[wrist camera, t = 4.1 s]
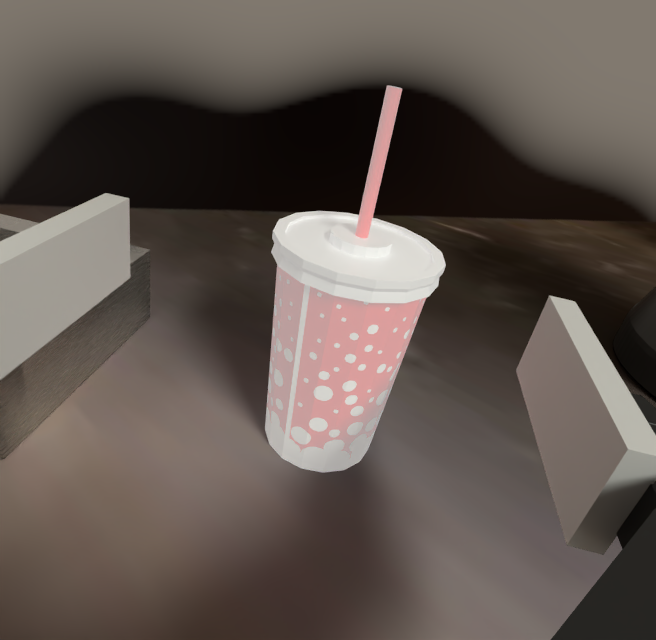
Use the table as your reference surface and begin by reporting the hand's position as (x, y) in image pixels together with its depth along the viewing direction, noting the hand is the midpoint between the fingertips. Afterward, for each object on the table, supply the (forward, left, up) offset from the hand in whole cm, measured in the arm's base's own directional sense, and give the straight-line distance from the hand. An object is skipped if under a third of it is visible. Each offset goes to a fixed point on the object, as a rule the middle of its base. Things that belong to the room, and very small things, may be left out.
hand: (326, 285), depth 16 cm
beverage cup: (-1, -3, -9) cm, 9 cm away
